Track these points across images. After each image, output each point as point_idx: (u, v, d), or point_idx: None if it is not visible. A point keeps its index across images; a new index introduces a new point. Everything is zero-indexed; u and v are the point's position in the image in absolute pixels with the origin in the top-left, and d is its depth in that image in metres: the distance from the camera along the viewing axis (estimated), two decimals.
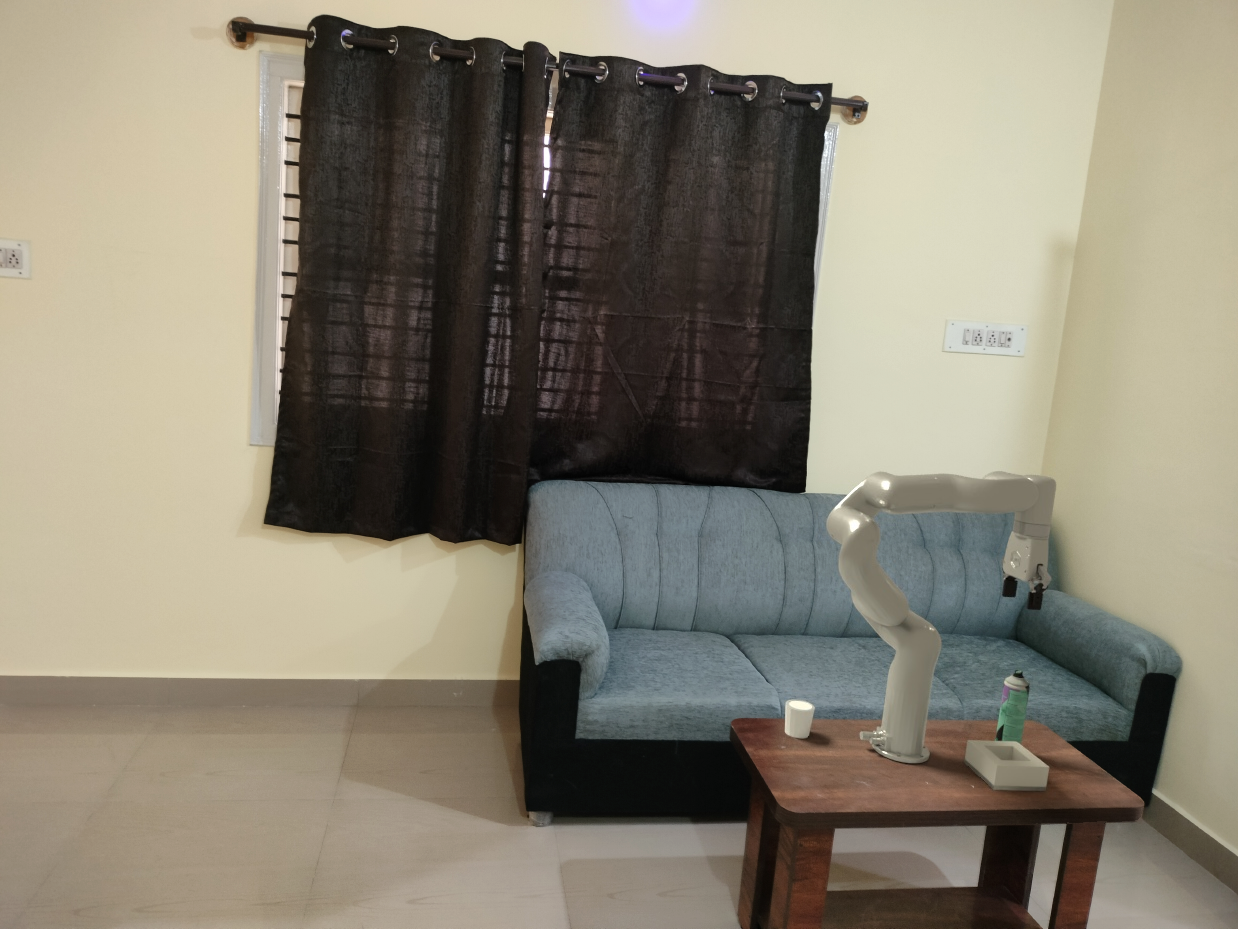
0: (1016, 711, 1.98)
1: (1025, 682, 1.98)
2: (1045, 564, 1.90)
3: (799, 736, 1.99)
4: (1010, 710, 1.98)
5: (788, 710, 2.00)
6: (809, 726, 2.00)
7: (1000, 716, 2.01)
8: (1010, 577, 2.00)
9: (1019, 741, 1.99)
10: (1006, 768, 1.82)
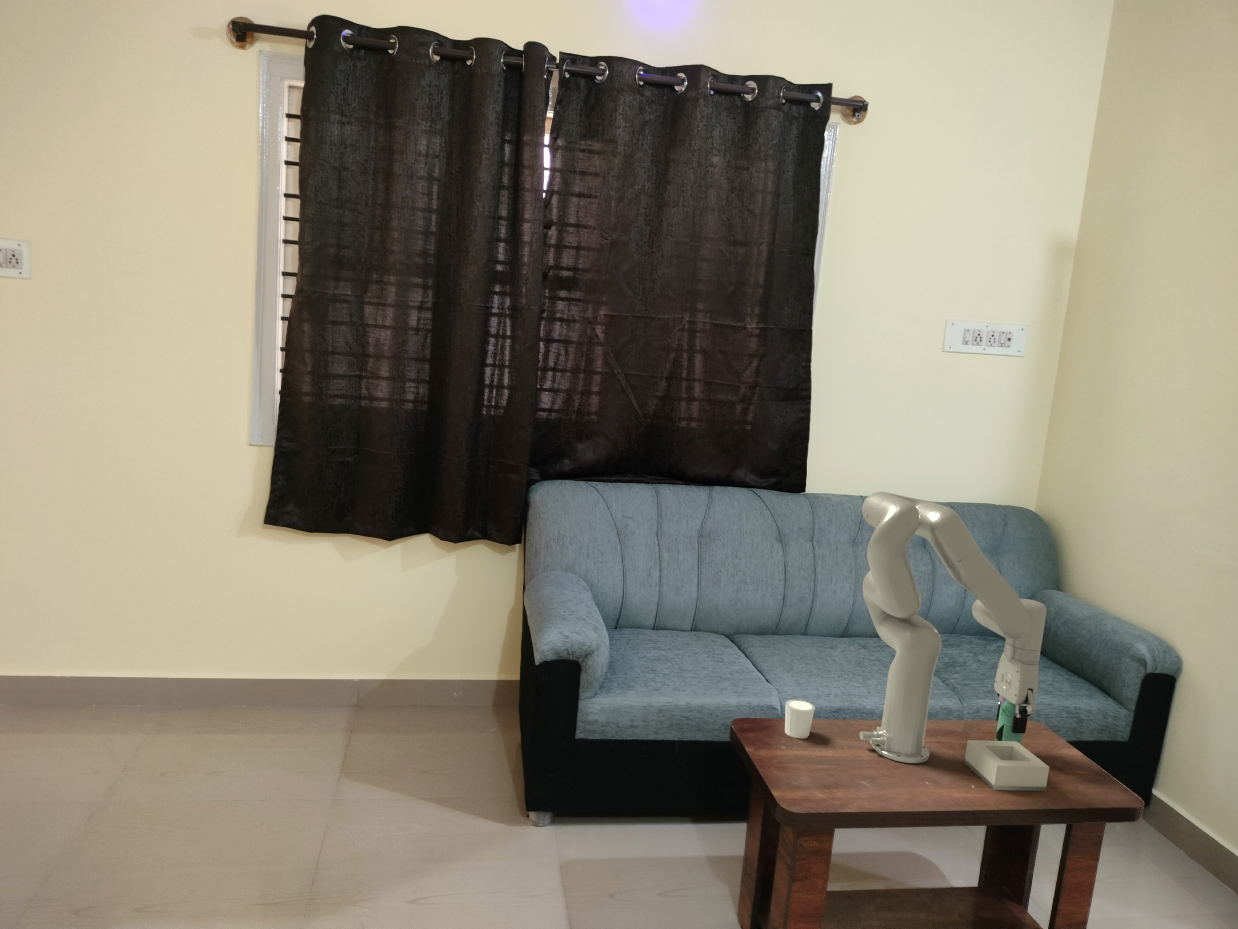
0: None
1: None
2: (1035, 689, 1.95)
3: (799, 736, 1.99)
4: (1010, 710, 1.98)
5: (788, 710, 2.00)
6: (809, 726, 2.00)
7: (1000, 716, 2.01)
8: None
9: (1019, 741, 1.99)
10: (1006, 768, 1.82)
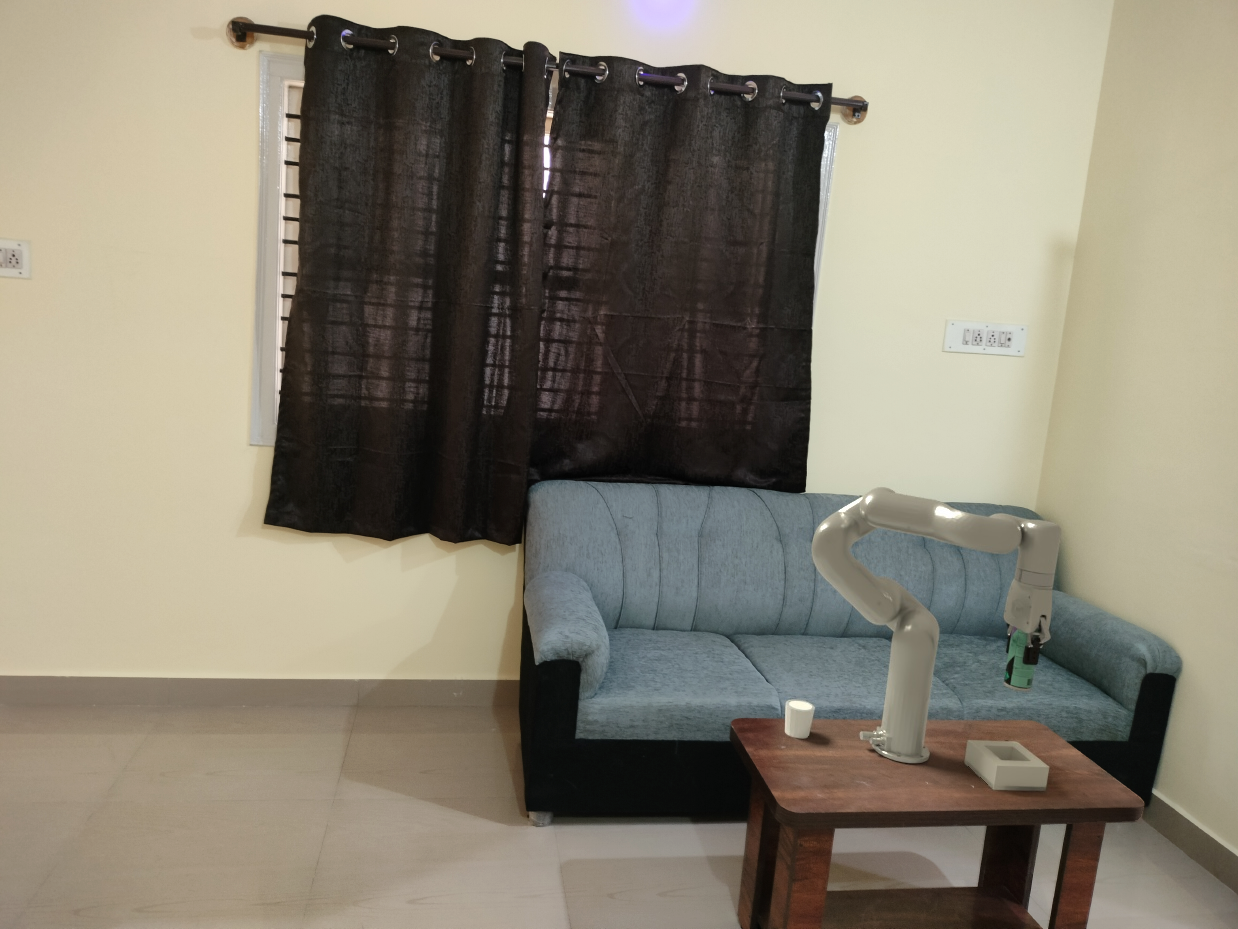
0: None
1: None
2: (1048, 615, 1.79)
3: (799, 736, 1.99)
4: (1021, 640, 1.83)
5: (788, 710, 2.00)
6: (809, 726, 2.00)
7: (1010, 647, 1.85)
8: None
9: (1031, 674, 1.84)
10: (1006, 768, 1.82)
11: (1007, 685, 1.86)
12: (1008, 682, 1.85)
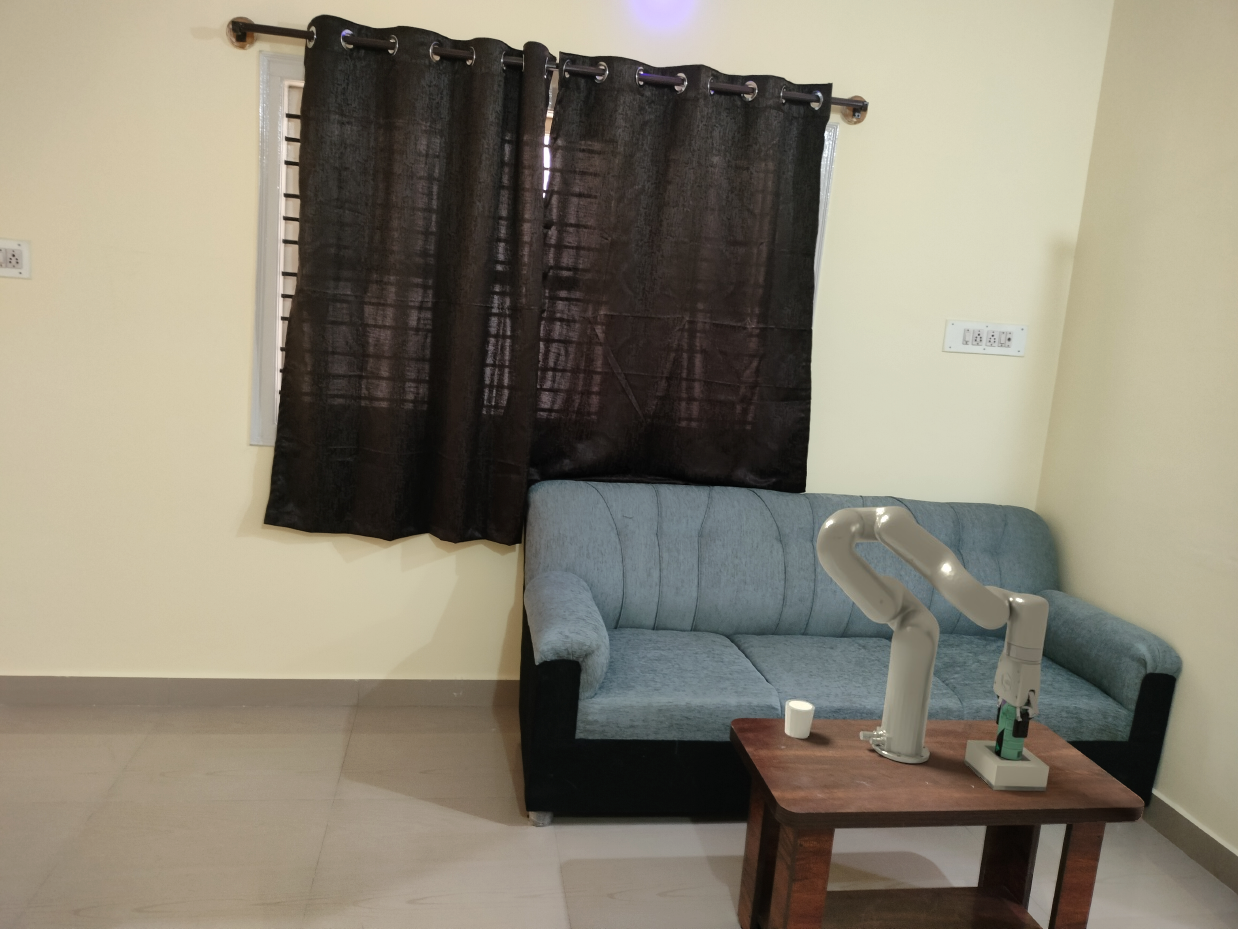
0: None
1: None
2: (1037, 690, 1.81)
3: (799, 736, 1.99)
4: (1011, 713, 1.85)
5: (788, 710, 2.00)
6: (809, 726, 2.00)
7: (1000, 719, 1.87)
8: None
9: (1021, 746, 1.86)
10: (1006, 768, 1.82)
11: None
12: (998, 754, 1.87)
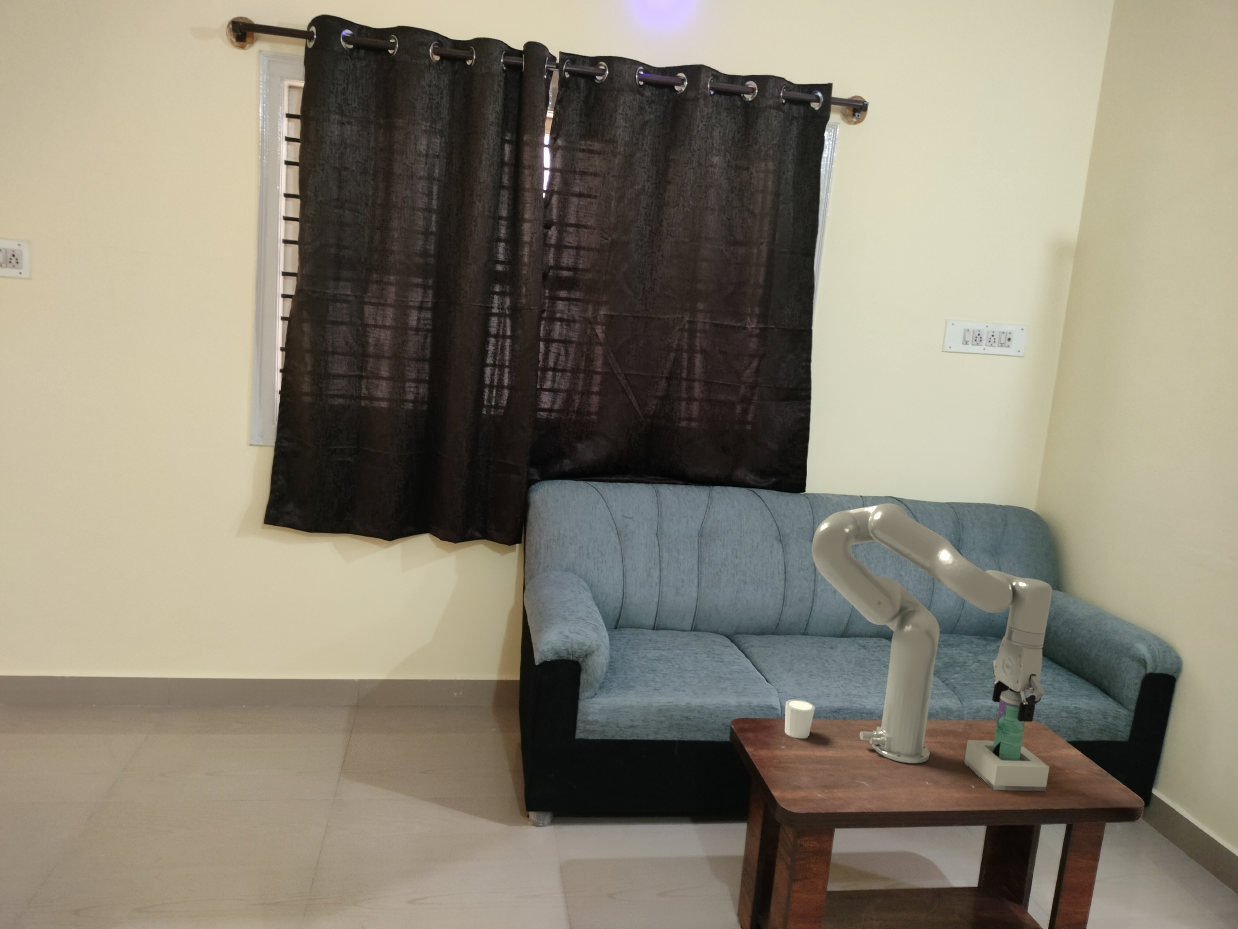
0: (1013, 728, 1.85)
1: None
2: (1038, 674, 1.81)
3: (799, 736, 1.99)
4: (1007, 727, 1.85)
5: (788, 710, 2.00)
6: (809, 726, 2.00)
7: (996, 733, 1.88)
8: (1001, 682, 1.91)
9: (1017, 760, 1.86)
10: (1006, 768, 1.82)
11: None
12: None
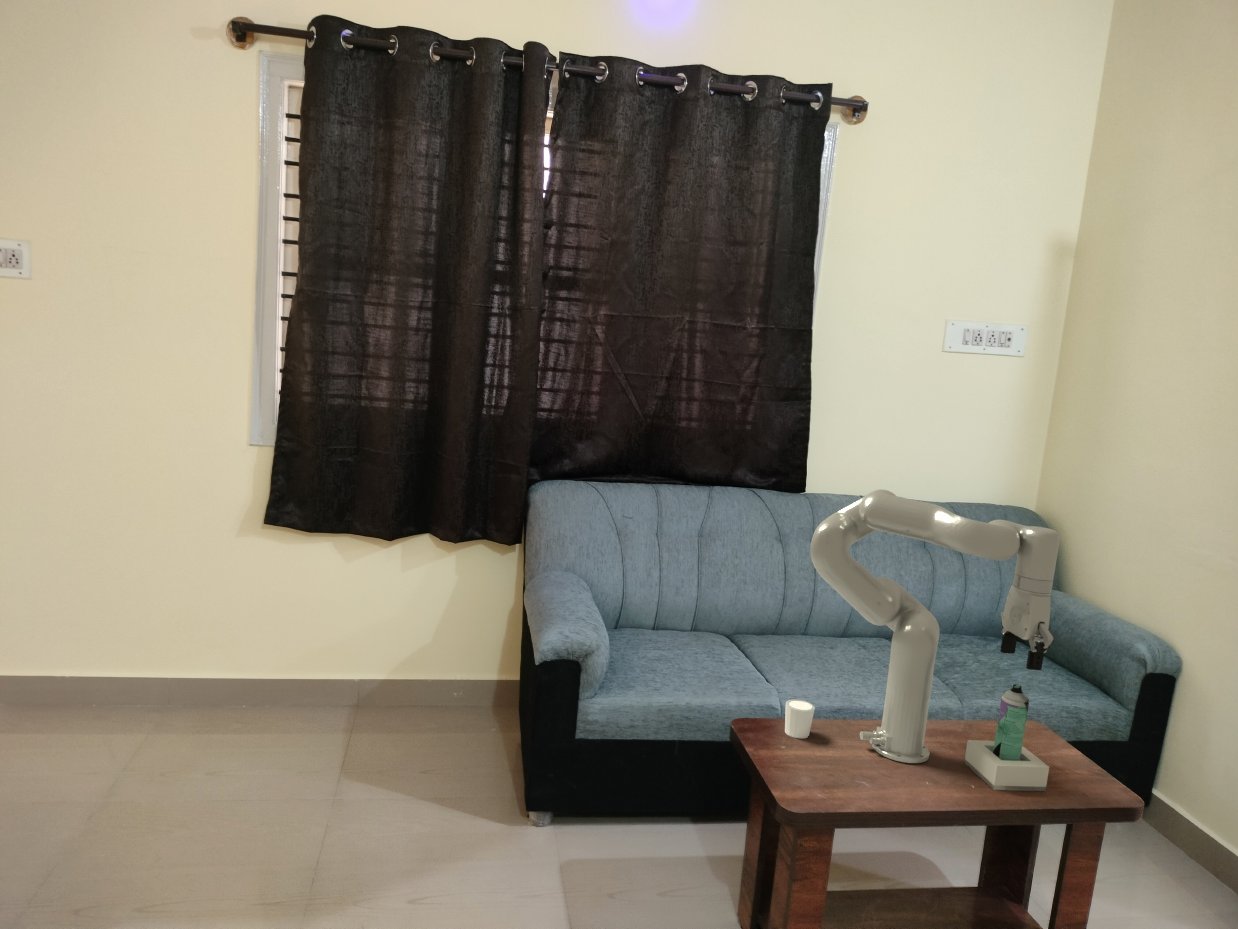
0: (1014, 729, 1.85)
1: (1024, 698, 1.85)
2: (1047, 622, 1.80)
3: (799, 736, 1.99)
4: (1008, 728, 1.85)
5: (788, 710, 2.00)
6: (809, 726, 2.00)
7: (997, 733, 1.88)
8: (1009, 632, 1.90)
9: (1017, 760, 1.86)
10: (1006, 768, 1.82)
11: None
12: None
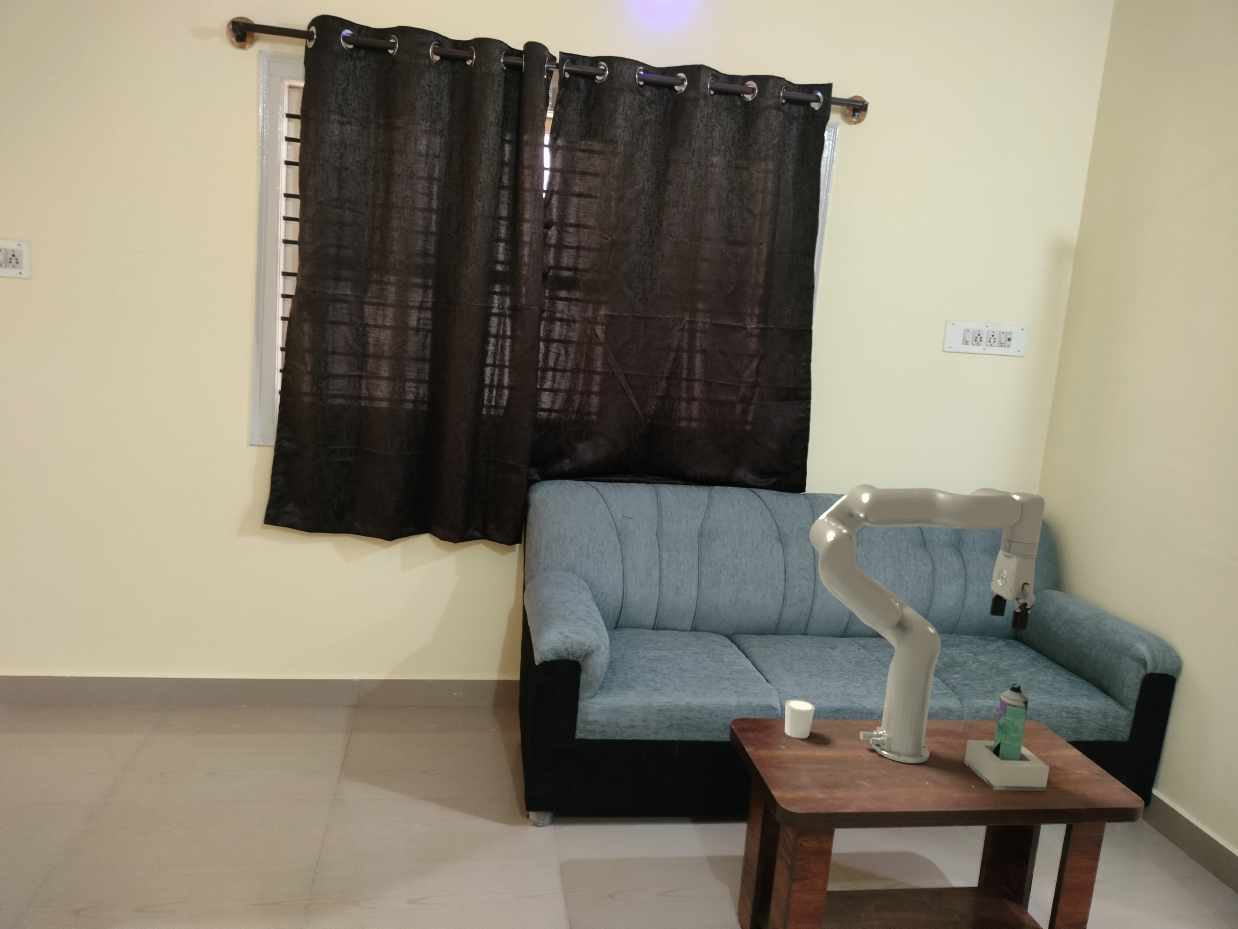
0: (1014, 728, 1.85)
1: (1023, 697, 1.85)
2: (1031, 583, 1.87)
3: (799, 736, 1.99)
4: (1007, 727, 1.85)
5: (788, 710, 2.00)
6: (809, 726, 2.00)
7: (997, 733, 1.88)
8: (998, 595, 1.98)
9: (1017, 760, 1.86)
10: (1006, 768, 1.82)
11: None
12: None
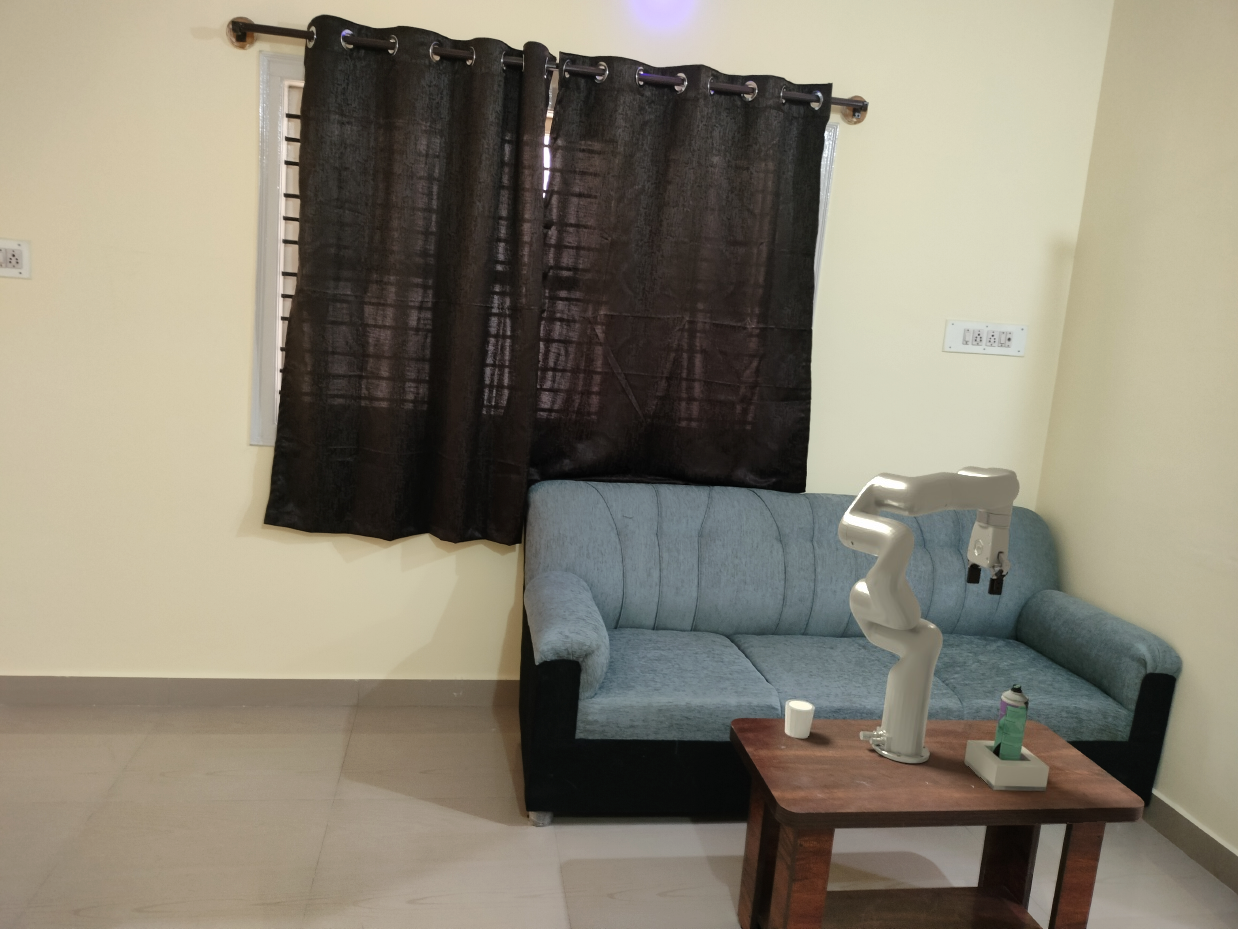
0: (1014, 728, 1.85)
1: (1024, 697, 1.85)
2: (1005, 552, 2.01)
3: (799, 736, 1.99)
4: (1008, 727, 1.85)
5: (788, 710, 2.00)
6: (809, 726, 2.00)
7: (997, 733, 1.88)
8: (974, 564, 2.11)
9: (1017, 760, 1.86)
10: (1006, 768, 1.82)
11: None
12: None
